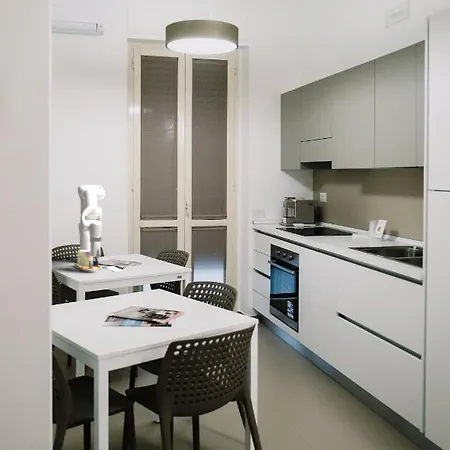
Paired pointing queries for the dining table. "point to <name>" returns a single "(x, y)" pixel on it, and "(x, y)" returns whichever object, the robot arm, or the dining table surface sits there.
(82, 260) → the box
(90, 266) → the lane frame
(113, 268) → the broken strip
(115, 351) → the dining table surface
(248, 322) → the dining table surface
